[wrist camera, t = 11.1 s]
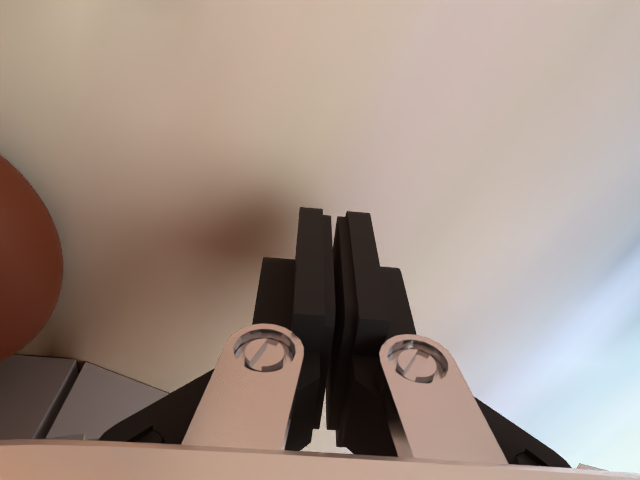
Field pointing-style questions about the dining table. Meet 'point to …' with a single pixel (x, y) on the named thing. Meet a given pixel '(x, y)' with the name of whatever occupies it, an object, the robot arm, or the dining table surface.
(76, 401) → the grey tray
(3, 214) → the poop emoji
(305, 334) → the robot arm
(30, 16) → the dining table surface
